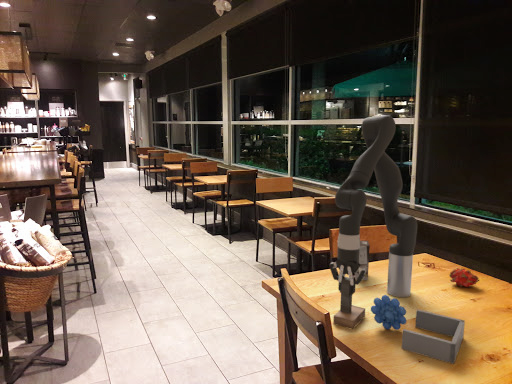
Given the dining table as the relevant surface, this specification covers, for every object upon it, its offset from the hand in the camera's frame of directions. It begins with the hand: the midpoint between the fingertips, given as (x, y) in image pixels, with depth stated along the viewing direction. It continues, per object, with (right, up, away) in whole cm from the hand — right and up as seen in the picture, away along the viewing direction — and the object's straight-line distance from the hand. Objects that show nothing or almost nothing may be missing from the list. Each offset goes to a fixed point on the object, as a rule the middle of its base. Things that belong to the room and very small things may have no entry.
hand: (346, 292), depth 144 cm
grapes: (+12, -11, -7) cm, 18 cm away
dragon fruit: (+59, -6, +34) cm, 68 cm away
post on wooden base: (+1, -10, +1) cm, 10 cm away
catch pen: (+24, -12, -15) cm, 31 cm away
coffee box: (+16, -4, +44) cm, 47 cm away
